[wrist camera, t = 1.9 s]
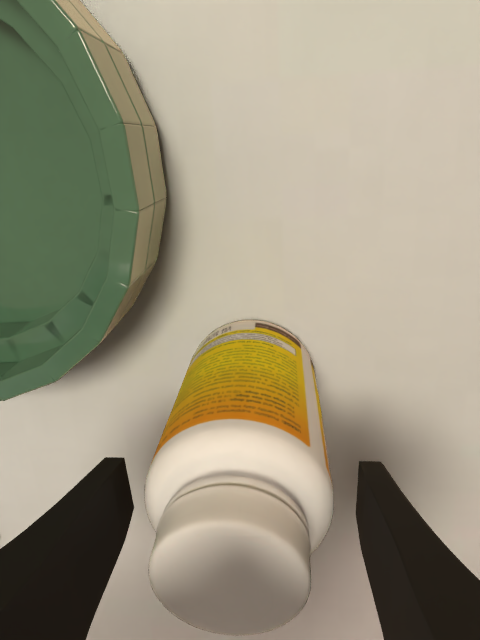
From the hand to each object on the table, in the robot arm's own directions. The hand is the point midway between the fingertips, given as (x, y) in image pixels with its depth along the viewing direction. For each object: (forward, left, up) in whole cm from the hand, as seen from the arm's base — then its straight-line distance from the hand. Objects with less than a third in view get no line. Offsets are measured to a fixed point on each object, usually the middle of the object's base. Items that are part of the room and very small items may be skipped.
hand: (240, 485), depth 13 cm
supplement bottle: (0, 0, -7) cm, 7 cm away
